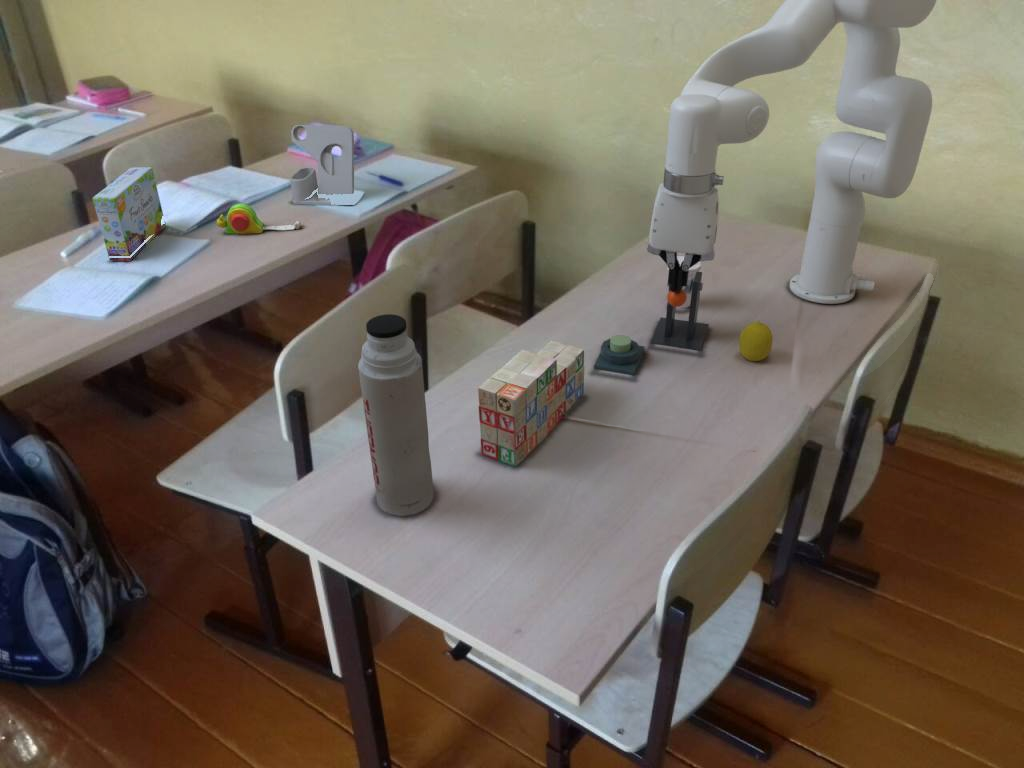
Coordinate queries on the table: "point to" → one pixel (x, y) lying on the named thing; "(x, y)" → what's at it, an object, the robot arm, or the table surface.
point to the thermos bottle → (396, 417)
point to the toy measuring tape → (247, 221)
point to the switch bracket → (682, 324)
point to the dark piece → (619, 359)
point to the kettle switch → (680, 294)
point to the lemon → (755, 341)
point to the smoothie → (691, 273)
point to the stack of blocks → (528, 400)
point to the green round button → (620, 344)
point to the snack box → (129, 212)
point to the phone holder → (324, 163)
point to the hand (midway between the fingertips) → (676, 288)
